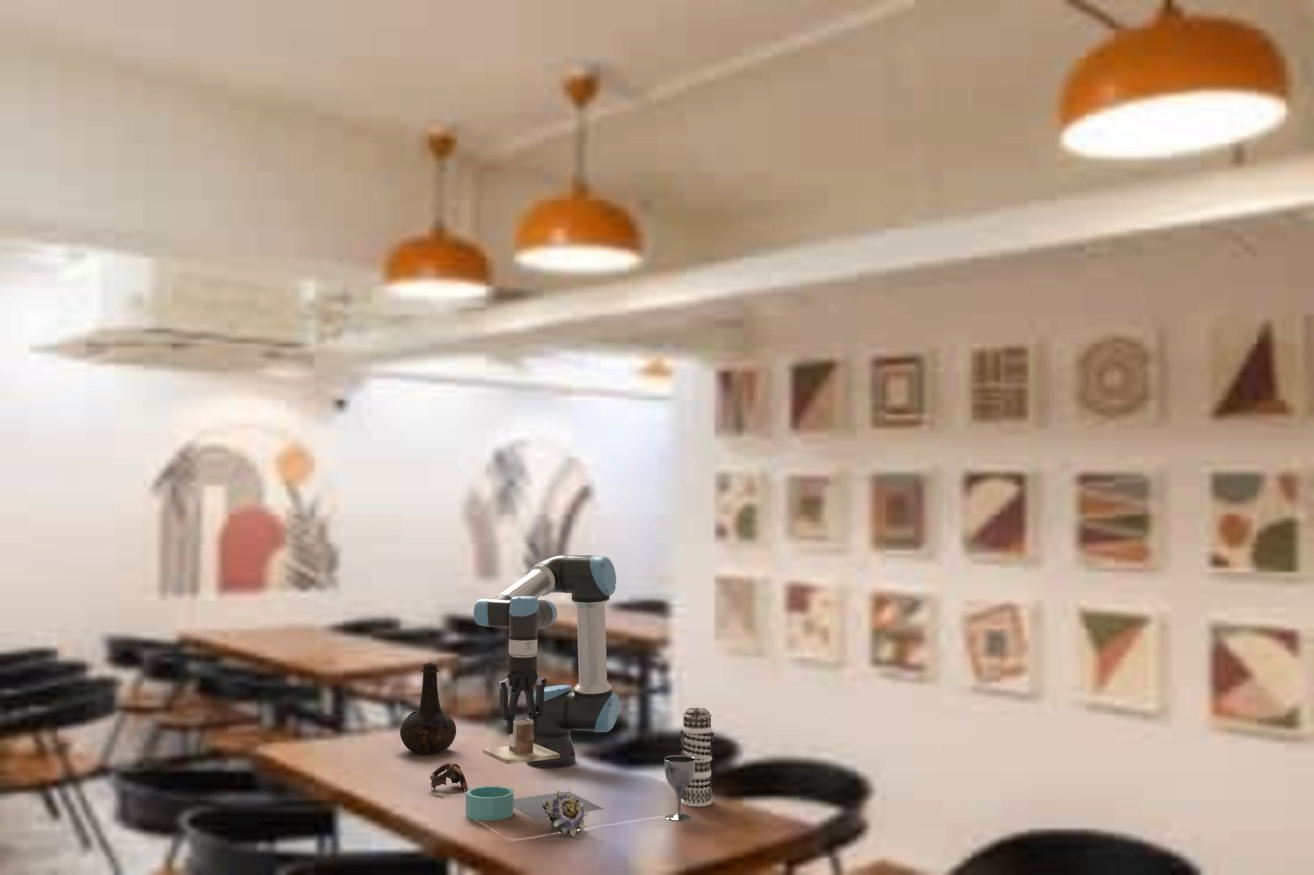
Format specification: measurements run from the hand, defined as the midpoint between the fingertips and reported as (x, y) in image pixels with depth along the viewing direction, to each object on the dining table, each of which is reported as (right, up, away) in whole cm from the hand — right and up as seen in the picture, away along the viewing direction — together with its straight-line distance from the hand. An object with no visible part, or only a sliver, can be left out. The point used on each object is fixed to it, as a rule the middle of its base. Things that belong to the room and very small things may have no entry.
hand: (521, 745), depth 301 cm
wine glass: (+41, -18, -4) cm, 45 cm away
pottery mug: (-22, -18, +21) cm, 36 cm away
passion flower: (+13, -17, -18) cm, 28 cm away
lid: (0, -3, 0) cm, 3 cm away
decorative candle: (+46, -19, +11) cm, 51 cm away
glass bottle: (-38, -20, +67) cm, 79 cm away
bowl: (-8, -17, -5) cm, 19 cm away
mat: (+8, -18, +5) cm, 20 cm away
